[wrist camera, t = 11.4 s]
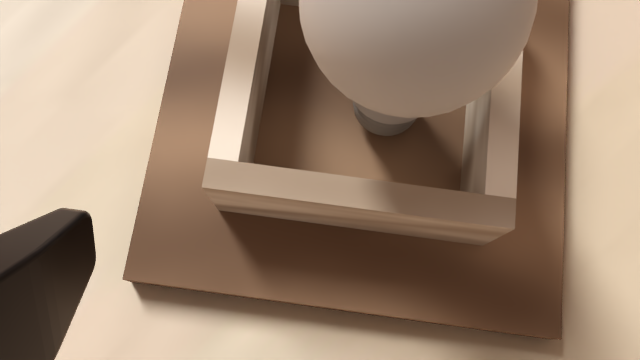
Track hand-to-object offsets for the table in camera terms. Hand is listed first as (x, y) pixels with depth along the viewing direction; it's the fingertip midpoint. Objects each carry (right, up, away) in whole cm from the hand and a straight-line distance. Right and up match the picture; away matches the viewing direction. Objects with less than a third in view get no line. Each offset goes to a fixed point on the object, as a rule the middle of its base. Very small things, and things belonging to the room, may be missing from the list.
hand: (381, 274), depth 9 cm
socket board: (+1, +4, +15) cm, 16 cm away
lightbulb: (+2, +4, +14) cm, 15 cm away
